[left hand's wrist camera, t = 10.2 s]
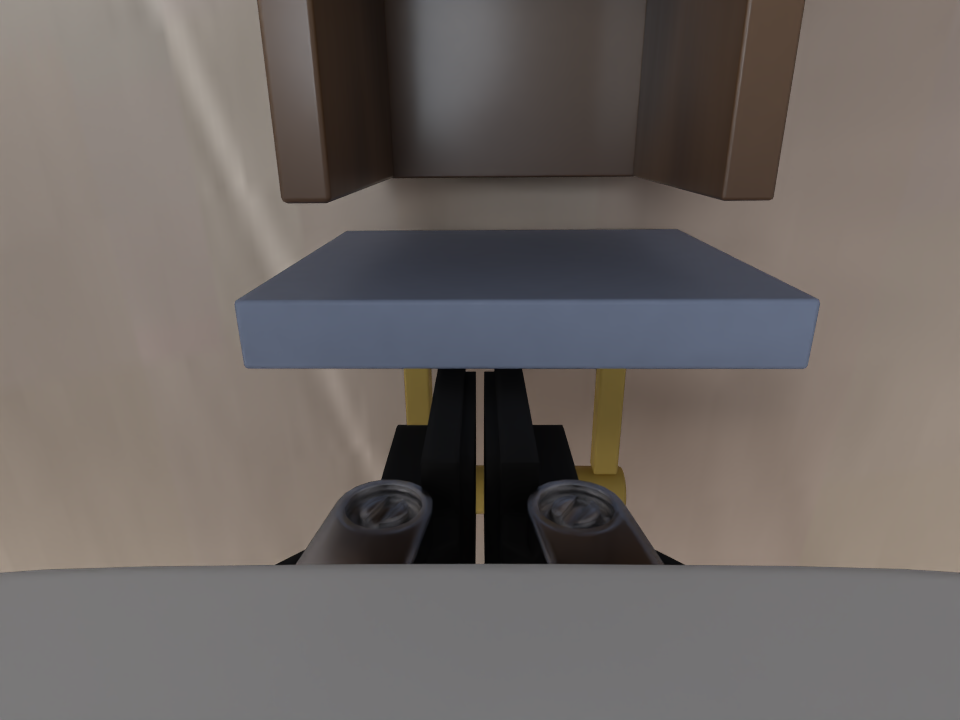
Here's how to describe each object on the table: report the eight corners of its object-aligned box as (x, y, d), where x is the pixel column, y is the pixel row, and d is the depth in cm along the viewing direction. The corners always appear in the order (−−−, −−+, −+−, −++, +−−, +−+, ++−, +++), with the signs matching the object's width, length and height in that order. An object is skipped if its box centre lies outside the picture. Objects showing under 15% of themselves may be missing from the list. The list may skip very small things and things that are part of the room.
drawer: (655, 443, 19) (756, 632, 12) (363, 441, 19) (283, 626, 12) (769, -601, 11) (1280, -1974, 4) (274, -581, 11) (-114, -1841, 4)
